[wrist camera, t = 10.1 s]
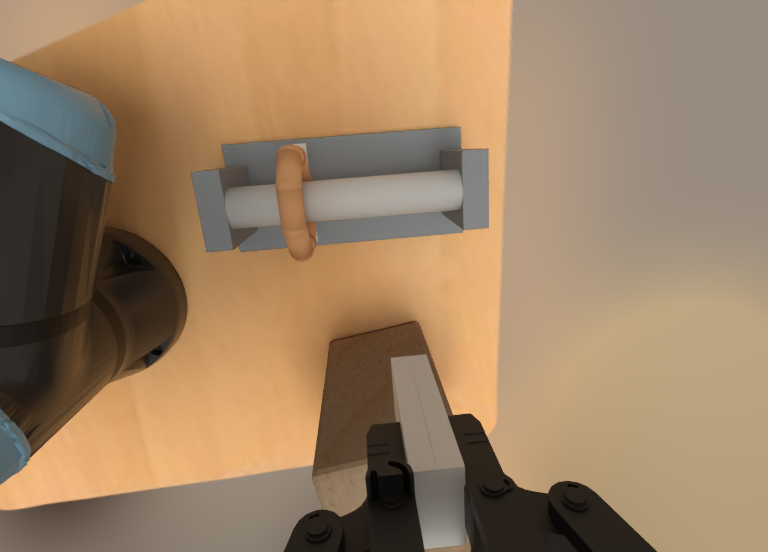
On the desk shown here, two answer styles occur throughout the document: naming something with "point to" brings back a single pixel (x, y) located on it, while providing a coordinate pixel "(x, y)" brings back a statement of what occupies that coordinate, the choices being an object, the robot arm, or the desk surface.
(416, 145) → the pipe stand
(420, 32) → the desk surface
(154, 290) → the robot arm
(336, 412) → the wooden block
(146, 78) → the desk surface
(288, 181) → the o-ring
